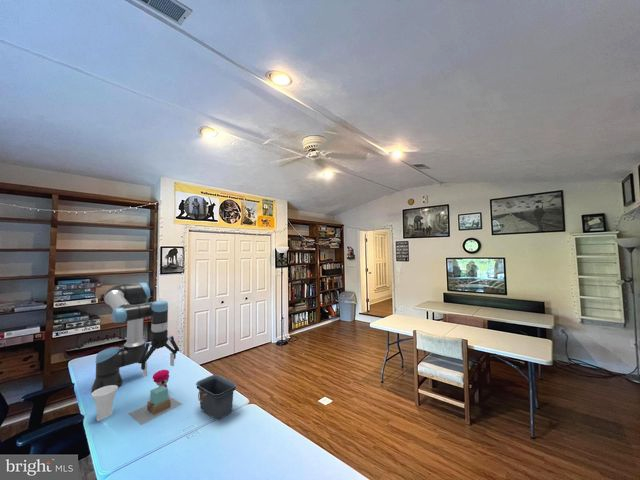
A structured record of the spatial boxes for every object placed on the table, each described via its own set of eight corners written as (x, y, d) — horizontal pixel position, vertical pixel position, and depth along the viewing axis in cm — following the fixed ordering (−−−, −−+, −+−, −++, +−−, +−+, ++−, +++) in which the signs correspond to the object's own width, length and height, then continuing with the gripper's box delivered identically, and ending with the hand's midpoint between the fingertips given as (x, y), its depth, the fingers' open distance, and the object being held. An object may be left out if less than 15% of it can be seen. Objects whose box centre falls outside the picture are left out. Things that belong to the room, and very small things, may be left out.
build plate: (127, 415, 134) (127, 413, 134) (168, 397, 150) (168, 395, 150) (141, 426, 125) (141, 424, 125) (182, 405, 141) (182, 404, 141)
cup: (87, 426, 126) (88, 398, 126) (94, 414, 135) (95, 388, 136) (114, 419, 131) (115, 392, 131) (119, 408, 140) (119, 383, 140)
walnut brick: (147, 409, 137) (147, 402, 137) (163, 402, 143) (163, 395, 143) (154, 414, 132) (154, 406, 132) (170, 406, 139) (170, 399, 139)
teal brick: (150, 401, 137) (150, 390, 137) (162, 396, 142) (162, 385, 142) (155, 405, 134) (155, 393, 134) (167, 399, 139) (167, 388, 139)
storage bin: (239, 411, 135) (239, 383, 136) (212, 428, 123) (212, 397, 123) (216, 398, 148) (216, 373, 148) (189, 412, 135) (189, 384, 136)
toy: (161, 401, 146) (161, 374, 146) (148, 400, 147) (149, 373, 148) (172, 393, 154) (172, 368, 155) (160, 392, 156) (161, 367, 156)
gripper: (136, 338, 127) (135, 382, 126) (186, 325, 148) (185, 363, 147) (129, 335, 131) (129, 378, 131) (179, 323, 152) (178, 360, 151)
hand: (159, 370), depth 139 cm, fingers open, 13 cm apart
